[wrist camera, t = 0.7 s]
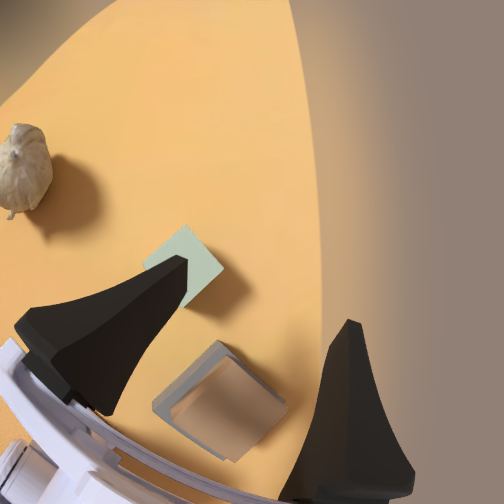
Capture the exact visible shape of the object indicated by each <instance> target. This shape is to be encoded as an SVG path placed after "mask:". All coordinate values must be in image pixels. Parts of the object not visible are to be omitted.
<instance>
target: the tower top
mask: <svg viewBox="0 0 504 504" xmlns="http://www.w3.org/2000/svg"><path fill="white" fill-rule="evenodd" d="M289 410H290V409H289V408H287V407H286V406H285V405H284V404H282V403H281V402H280V401H279V400H278V399H276V398H275V397H274V396H273V395H272V394H270V393H269V392H268V391H267V390H266V389H265V388H263V387H262V386H261V385H260V384H259V383H258V382H256V381H255V380H254V379H253V378H252V377H251V376H250V375H249V374H247V373H246V372H245V371H244V370H243V369H242V368H241V367H240V366H239V365H237V364H236V363H235V362H234V361H233V360H232V359H231V358H229V357H228V356H227V355H225V356H224V357H223V358H222V359H221V360H220V361H219V362H218V363H217V364H216V365H215V366H214V367H213V368H212V369H211V370H210V371H209V372H208V373H207V374H206V375H205V376H203V377H202V378H201V379H200V380H199V381H198V382H197V383H196V384H195V385H194V386H193V387H192V388H191V389H190V390H189V391H188V392H187V393H186V394H185V395H184V396H183V397H182V398H181V399H180V400H178V401H177V402H176V403H175V404H174V405H173V406H172V407H171V408H170V412H171V417H172V421H173V423H175V424H176V425H177V426H179V427H180V428H181V429H183V430H184V431H186V432H187V433H188V434H190V435H191V436H193V437H194V438H196V439H197V440H199V441H200V442H202V443H203V444H205V445H206V446H208V447H209V448H211V449H212V450H214V451H216V452H217V453H219V454H220V455H222V456H224V457H225V458H227V459H229V460H230V461H232V462H234V463H235V462H237V461H238V460H239V459H240V458H241V457H242V456H243V455H244V454H246V453H247V452H248V451H249V450H250V449H251V448H252V447H253V446H254V445H255V444H256V443H257V442H258V441H260V440H261V439H262V438H263V437H264V436H265V435H266V434H267V433H268V432H269V431H270V430H271V429H272V428H273V427H274V426H275V425H276V424H277V423H278V422H279V421H280V420H281V418H282V417H283V416H284V415H285V414H286V413H287V412H288V411H289Z"/></svg>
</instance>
